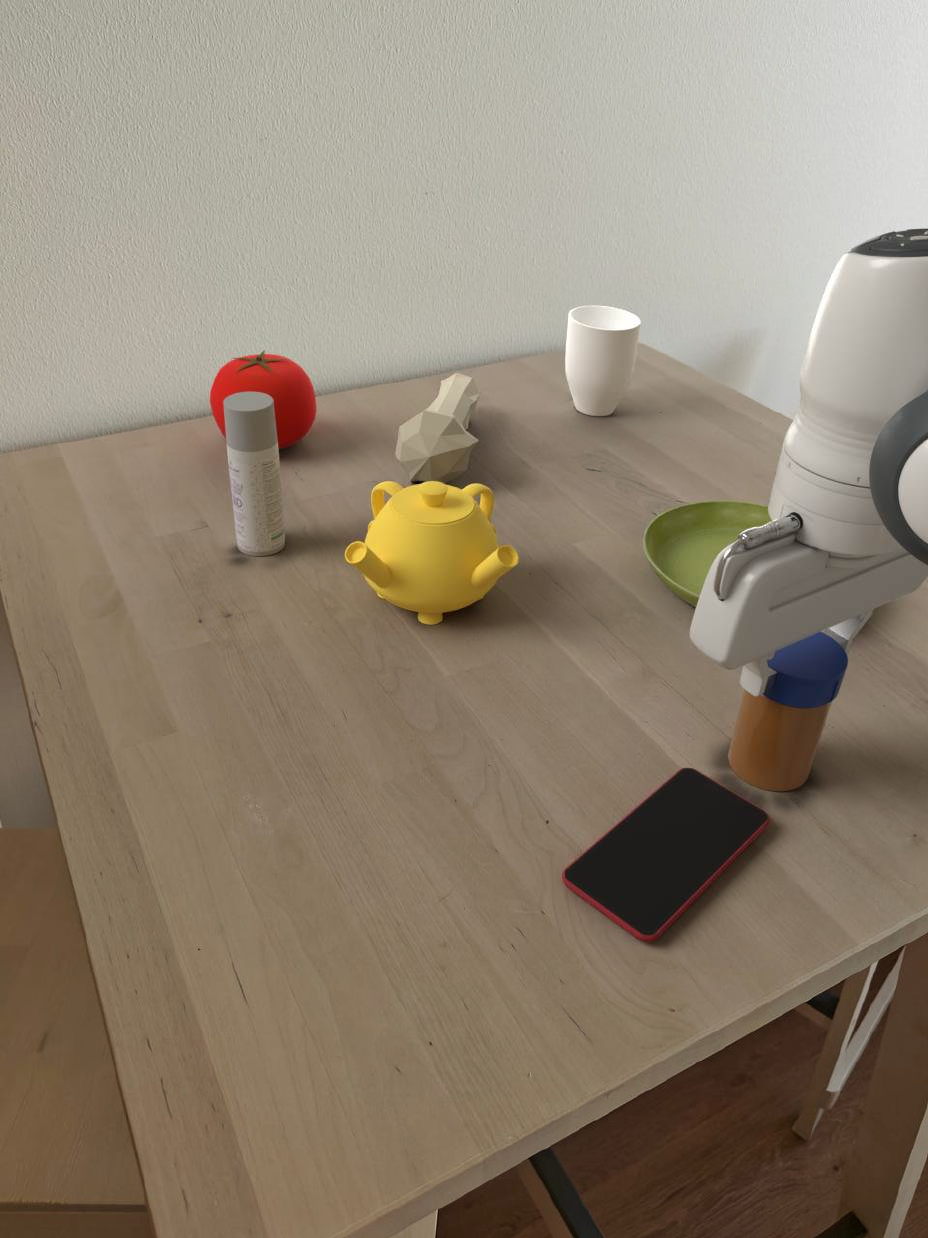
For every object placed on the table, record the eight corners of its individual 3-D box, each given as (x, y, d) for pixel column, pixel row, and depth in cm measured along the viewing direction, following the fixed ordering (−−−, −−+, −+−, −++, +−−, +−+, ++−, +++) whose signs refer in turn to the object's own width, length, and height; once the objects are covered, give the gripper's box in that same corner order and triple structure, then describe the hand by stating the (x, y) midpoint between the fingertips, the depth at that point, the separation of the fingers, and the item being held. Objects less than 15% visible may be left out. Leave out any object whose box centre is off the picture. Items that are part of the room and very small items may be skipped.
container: (227, 549, 98) (211, 404, 90) (255, 527, 102) (241, 387, 93) (267, 561, 97) (255, 415, 88) (294, 539, 100) (284, 397, 92)
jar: (825, 769, 76) (860, 662, 70) (775, 803, 73) (808, 694, 67) (761, 726, 80) (789, 621, 74) (711, 757, 77) (737, 650, 71)
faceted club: (378, 484, 109) (421, 403, 129) (452, 512, 109) (483, 427, 130) (401, 411, 104) (442, 339, 125) (478, 440, 104) (507, 364, 125)
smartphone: (556, 875, 65) (686, 763, 74) (555, 884, 66) (684, 771, 75) (649, 943, 61) (775, 815, 70) (647, 952, 62) (772, 824, 71)
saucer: (767, 673, 86) (775, 642, 84) (594, 567, 98) (598, 538, 96) (900, 593, 97) (910, 565, 95) (728, 507, 109) (734, 480, 108)
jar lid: (858, 686, 71) (868, 658, 70) (802, 721, 68) (811, 692, 66) (783, 641, 75) (790, 613, 74) (727, 672, 72) (733, 644, 71)
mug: (620, 427, 125) (633, 332, 119) (551, 415, 128) (560, 321, 121) (638, 393, 135) (651, 304, 128) (574, 383, 137) (583, 294, 130)
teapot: (346, 639, 87) (342, 526, 81) (356, 556, 98) (354, 451, 92) (512, 643, 88) (522, 531, 81) (504, 560, 99) (512, 456, 92)
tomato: (288, 415, 125) (283, 332, 119) (335, 451, 117) (332, 364, 111) (197, 436, 119) (187, 350, 113) (240, 475, 111) (232, 385, 105)
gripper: (766, 564, 56) (720, 748, 64) (985, 482, 66) (921, 651, 74) (688, 515, 61) (654, 693, 69) (904, 445, 70) (852, 608, 78)
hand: (794, 671), depth 71 cm, fingers closed on jar lid, 6 cm apart
